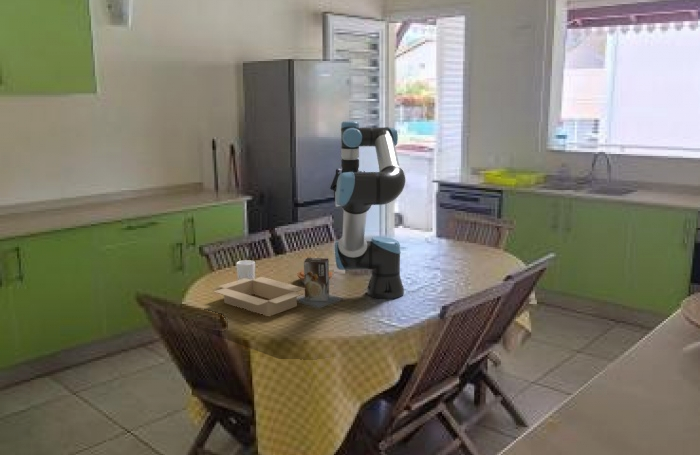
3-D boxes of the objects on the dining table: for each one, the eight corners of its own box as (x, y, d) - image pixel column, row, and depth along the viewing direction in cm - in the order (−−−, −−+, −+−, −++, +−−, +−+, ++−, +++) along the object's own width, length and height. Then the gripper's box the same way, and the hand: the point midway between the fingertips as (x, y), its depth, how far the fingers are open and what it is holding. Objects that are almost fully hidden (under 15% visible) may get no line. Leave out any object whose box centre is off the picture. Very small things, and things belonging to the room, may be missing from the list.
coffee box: (330, 296, 255) (329, 258, 252) (326, 301, 249) (326, 262, 246) (307, 295, 257) (307, 257, 253) (304, 300, 251) (303, 261, 247)
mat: (342, 299, 254) (342, 297, 254) (318, 308, 243) (318, 306, 243) (316, 292, 263) (316, 291, 262) (292, 301, 252) (292, 299, 252)
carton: (313, 305, 247) (312, 290, 246) (265, 322, 228) (265, 307, 227) (255, 288, 268) (255, 275, 267) (207, 303, 249) (207, 289, 248)
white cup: (240, 288, 268) (239, 265, 266) (235, 283, 275) (234, 261, 273) (258, 285, 272) (257, 263, 270) (252, 281, 279) (251, 259, 277)
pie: (339, 280, 280) (339, 269, 279) (320, 289, 267) (319, 277, 266) (310, 275, 288) (310, 264, 287) (290, 283, 275) (290, 272, 274)
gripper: (379, 159, 262) (379, 210, 266) (333, 155, 277) (333, 203, 281) (368, 161, 256) (368, 212, 260) (321, 157, 271) (322, 206, 275)
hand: (350, 208), depth 271 cm, fingers open, 13 cm apart
